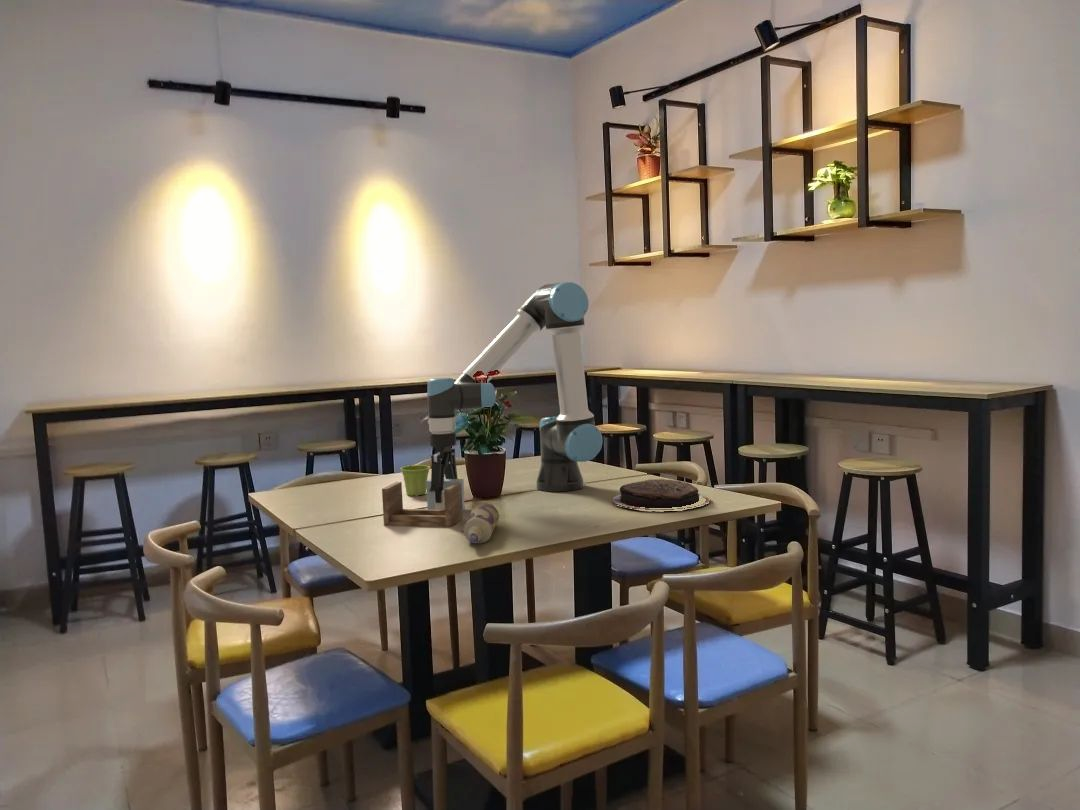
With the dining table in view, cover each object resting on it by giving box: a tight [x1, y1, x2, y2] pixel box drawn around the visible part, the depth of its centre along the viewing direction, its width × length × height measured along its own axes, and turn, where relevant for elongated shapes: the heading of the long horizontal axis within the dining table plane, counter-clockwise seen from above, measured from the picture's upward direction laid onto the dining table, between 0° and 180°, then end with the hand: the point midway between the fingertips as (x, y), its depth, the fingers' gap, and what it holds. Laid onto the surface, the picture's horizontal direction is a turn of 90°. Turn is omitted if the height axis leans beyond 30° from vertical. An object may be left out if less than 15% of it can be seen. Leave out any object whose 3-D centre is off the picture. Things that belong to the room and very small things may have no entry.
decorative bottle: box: [461, 502, 500, 544], centre depth 207 cm, size 26×8×7 cm, turn 176°
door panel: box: [426, 478, 466, 511], centre depth 241 cm, size 10×4×9 cm, turn 77°
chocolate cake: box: [611, 478, 711, 510], centre depth 242 cm, size 28×28×7 cm
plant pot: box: [400, 464, 431, 497], centre depth 268 cm, size 9×9×9 cm
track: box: [381, 481, 464, 528], centre depth 228 cm, size 19×10×10 cm, turn 77°
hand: (445, 510), depth 242 cm, fingers open, 9 cm apart
